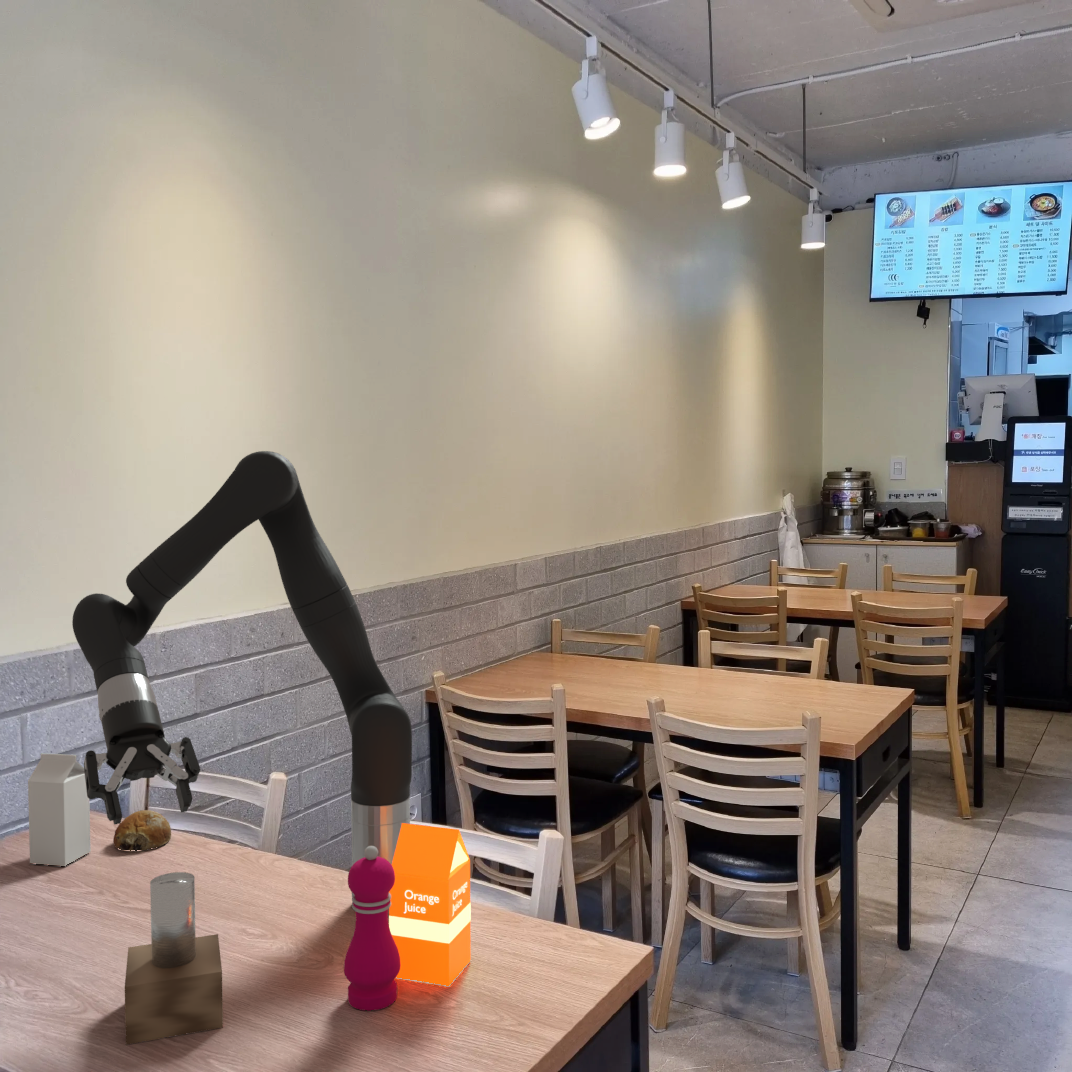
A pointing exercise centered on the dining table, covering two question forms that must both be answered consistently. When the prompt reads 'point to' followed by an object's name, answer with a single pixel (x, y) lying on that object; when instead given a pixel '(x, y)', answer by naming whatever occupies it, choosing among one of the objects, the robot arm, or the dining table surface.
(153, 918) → the shiny metal cylinder
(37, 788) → the milk carton
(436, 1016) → the dining table surface
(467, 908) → the orange juice
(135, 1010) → the walnut block
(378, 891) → the pepper mill
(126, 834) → the bread roll
